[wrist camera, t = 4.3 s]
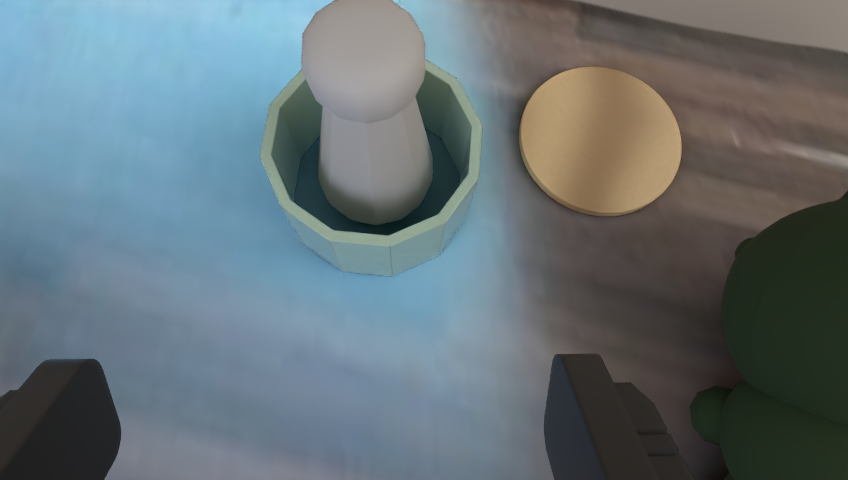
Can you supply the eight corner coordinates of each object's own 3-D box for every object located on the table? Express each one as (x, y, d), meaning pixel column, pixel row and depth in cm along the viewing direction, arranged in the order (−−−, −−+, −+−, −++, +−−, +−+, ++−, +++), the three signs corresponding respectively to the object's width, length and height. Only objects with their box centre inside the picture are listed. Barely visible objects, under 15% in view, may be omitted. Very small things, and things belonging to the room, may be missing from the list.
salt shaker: (301, 194, 31) (232, 44, 18) (369, 119, 32) (348, -67, 20) (386, 259, 30) (374, 147, 17) (452, 179, 31) (484, 24, 19)
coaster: (515, 208, 31) (517, 204, 30) (521, 65, 34) (523, 59, 33) (680, 224, 31) (686, 220, 30) (673, 79, 34) (678, 74, 33)
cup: (273, 265, 30) (244, 232, 24) (301, 98, 33) (282, 37, 27) (461, 283, 30) (474, 254, 24) (473, 115, 33) (487, 57, 27)
